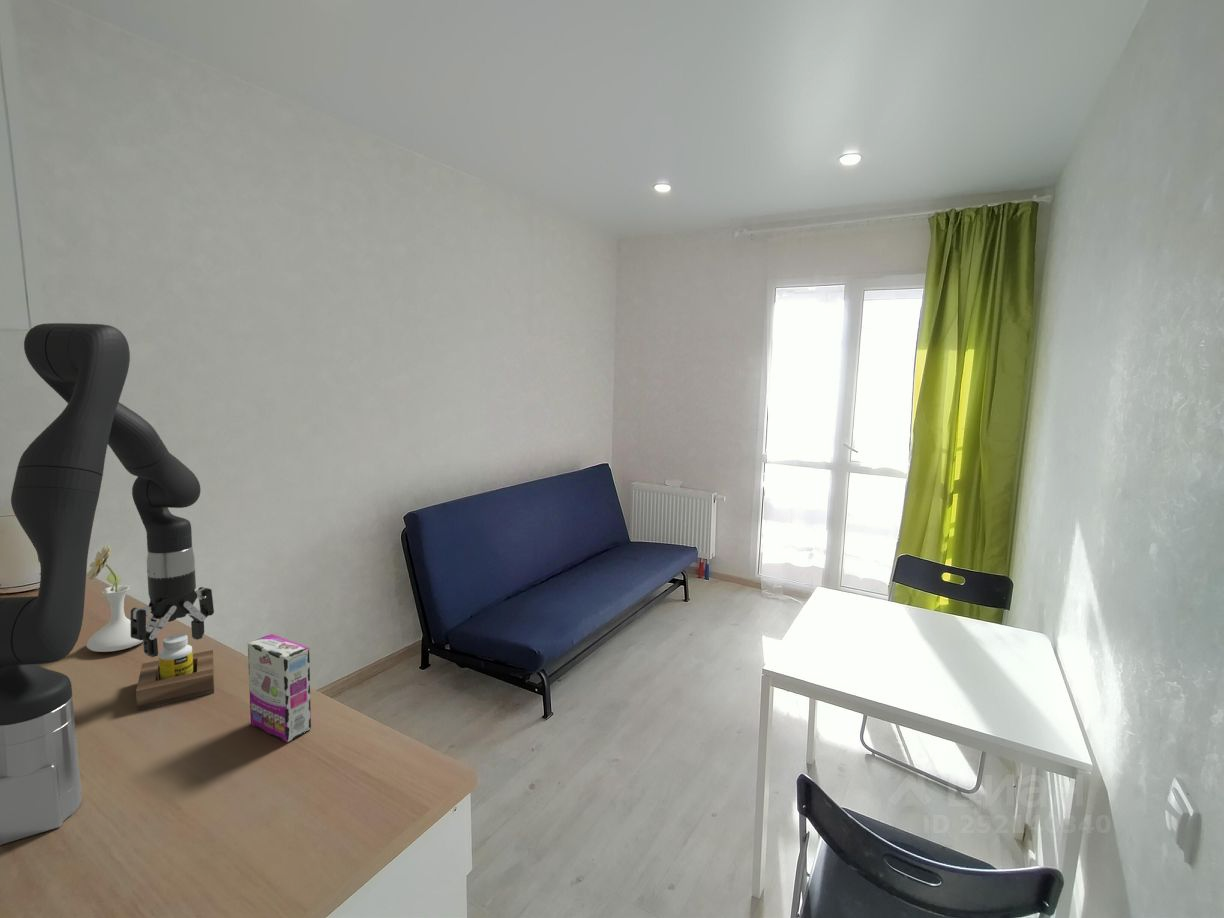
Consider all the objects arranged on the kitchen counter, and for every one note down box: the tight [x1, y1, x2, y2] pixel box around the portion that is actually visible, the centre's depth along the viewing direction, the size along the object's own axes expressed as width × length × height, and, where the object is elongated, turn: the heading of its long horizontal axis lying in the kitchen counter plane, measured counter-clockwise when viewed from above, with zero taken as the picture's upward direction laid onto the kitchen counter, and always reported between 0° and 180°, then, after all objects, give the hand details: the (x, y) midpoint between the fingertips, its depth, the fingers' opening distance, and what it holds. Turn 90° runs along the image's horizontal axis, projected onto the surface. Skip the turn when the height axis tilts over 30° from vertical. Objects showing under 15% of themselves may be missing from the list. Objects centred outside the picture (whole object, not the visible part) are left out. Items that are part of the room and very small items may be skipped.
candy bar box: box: [247, 633, 312, 743], centre depth 103 cm, size 11×5×16 cm, turn 64°
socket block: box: [135, 649, 215, 711], centre depth 115 cm, size 12×12×4 cm
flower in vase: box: [86, 545, 143, 653], centre depth 128 cm, size 13×11×25 cm
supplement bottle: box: [158, 633, 194, 680], centre depth 114 cm, size 5×5×10 cm
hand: (175, 646), depth 114 cm, fingers open, 8 cm apart
